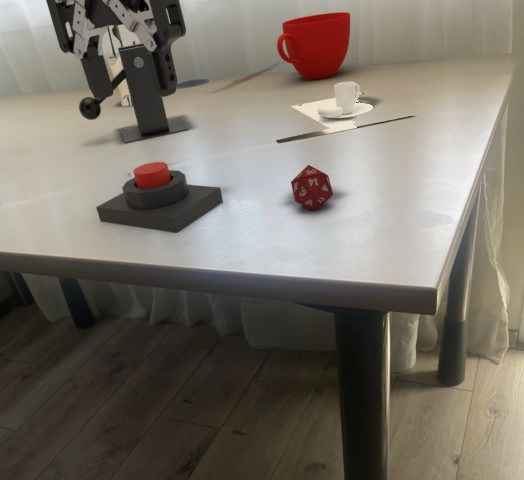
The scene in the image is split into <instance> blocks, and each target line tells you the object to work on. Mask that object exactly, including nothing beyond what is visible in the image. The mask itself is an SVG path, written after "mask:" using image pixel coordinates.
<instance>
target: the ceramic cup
mask: <svg viewBox="0 0 524 480" xmlns="http://www.w3.org/2000/svg"><path fill="white" fill-rule="evenodd" d="M281 26H282V34H280V35H279V36H278V38H277V41H276V50H277V52H278V54H279V56H280V58H281V59H282V60H283V61H284V62H285V63H288V64H291V65H292V66H293V68H294V69H295V70H296V72H297V73H298V74H299V75H300V76H301V77H302V79H304V80H307V81H308V80H309V81H310V80H311V81H312V80H313V81H314V80H322V79H327V78H331V77H333V76H335V75H337V72H338V71H339V70H340V68H341V67H342V65H343V63H344V61H345V59H346V56H347V54H348V50H349V45H350V36H351V13H350V12H348V11H347V12H346V11H345V12H344V11H339V12H327V13H319V14H313V15H307V16H301V17H296V18H293V19H289V20H286V21H283V22H282V24H281ZM284 45H285V49H286V52H285V50H284ZM286 53H287V54H286Z"/></svg>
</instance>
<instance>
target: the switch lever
mask: <svg viewBox="0 0 524 480" xmlns="http://www.w3.org/2000/svg"><path fill="white" fill-rule="evenodd" d="M136 47H138V46H136ZM125 78H126V74H125V70H124V68H123V69H122V70H121V71H120V72H119V73H118V74H117V75H116V76H115V77H113V78H112V79H110V81H111V84H112V88H113V91H115V89H117V88H118V87H117V86H118V85H119V84H120V83H121V82H122V81H123V80H124V79H125ZM106 99H107V98H104V99H95V98H94V97H93V96H86V97H83V98H82V99H81V100H80V101H79V104H78V111H79V113H80V115H81V116H82V117H83V118H84V119H86V120H89V121H94V120H97V119H99V117H100V116H101V114H102V107H101V104H102V103H103V102H104V101H105V100H106Z"/></svg>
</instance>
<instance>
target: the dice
mask: <svg viewBox="0 0 524 480" xmlns="http://www.w3.org/2000/svg"><path fill="white" fill-rule="evenodd" d="M290 184H291V189H292V195H293V198H294V202H296V203H298V204H300V205H301V206H303V207H306V208H307V209H309V210H312V211H313V212H317V210H319V209H320V208H321V207H322V206H323V205H324V204H325V203H326V202H328V201H329V199H331V197H332V196H334V192H333V188H332V184H331V179H330V176H329V175H328V174H327V173H325V172H323V171H321V170H319V169H318V168H316V167H313V166H312V165H310V164H307V166H305V167H304V168H303V169H302V171H300V172H299V173H298V174H297V175H296V176H295V177H294V178H293V179H292V180H290Z"/></svg>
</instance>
